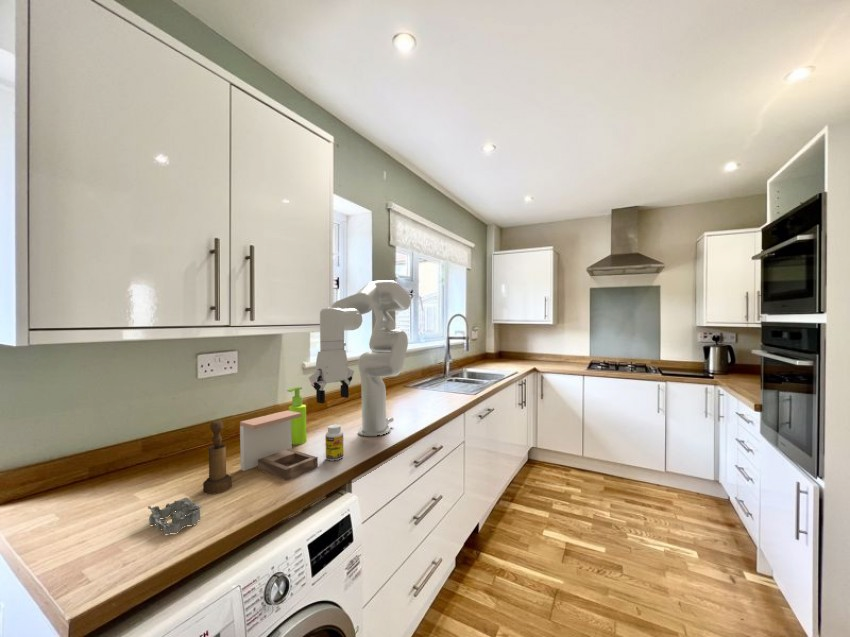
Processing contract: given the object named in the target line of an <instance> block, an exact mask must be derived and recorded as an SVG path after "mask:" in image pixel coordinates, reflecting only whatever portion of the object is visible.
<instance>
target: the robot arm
mask: <svg viewBox="0 0 850 637" xmlns="http://www.w3.org/2000/svg"><path fill="white" fill-rule="evenodd" d="M411 301H412V300H411V296H410V294H409V292H408V291H407V290H406V289H405V288H404V287H403V286H402V285H401V284H400V283H399V282H397V281H395V280H392V279H391V280H387V279H386V280H374V281H371V282H369V283H367V284H365V285H364V286H363V287H362V288H361V289H360V290H359V291H358V292H356V293H354V294H351V295H349V296H346V297H344V298H341V299H339V300H336V301H334V302H332V303H331V304H329V305H328V306H327V307H325V308H322V309H320V311H319V341H320V342H319V345H320V346H319V348H320V351H317V356H316V362H315V371H314V373H313V374H311V375H310V376H309V377H308V380H309V382H310V384H311V385H310V386H312V387H313V389H314V390H315V391H316V392H315V393H316V399H315V400H316V403H318V404H325V403H326V391H325V389H324V388H326V385H327V384H332V383H338V382H340V383H341V385H340V397H341V398H344V399H345V398H346V399H347V398H349V397H350V395H349V394H350V393H349V391H350V390H349V389H350V388H349V386H350V385H351V381H352V380H353V377H354V373H355V371H354V370H353V369H351V368H349V366H348V363H349V362H348V356H347V351H346V350H345V347H346V346H347V343H346V342H345V331H355V330H358V329H359V328H361V326H362V324H363V316H362V315H366V314H368V313H370V312H371V311H372V310H373V314H374V316H375V324H374V326H373V329H372V333H371V336H370V338H369V343H368V344H369V349H370V351H366V352H364V353H362V354H360V355H359V358H358V362H357V365H358V372H359V377H360V385H361V386H360V388H361V391H360V392H361V425H362V426H360V427H359V428H358V430H357V431H358V432H357V433H358V434H359V435H360V436H363V435H364V437H378V436H377V435H380V436H384V435H383V434H385V435H387V434H388V432H389V433H390V432H391V427H390V426H389V424H391V423H393V422H394V417H392V416H391V417H387V397H386V395H387V394H386V393H387V392H386V390H387V389H386V388H387V387H386V383H385V382H384V380H383V378H382V377H397V376H399V375H400V374H401V372H402V369H403V366H404V362H405V358H406V354H407V350H408V344H409V341H408V339H409V338H408V335H407V333H406V332H405V331H404V330H401V329H395V328H396V322H395V320H394V318H393V316H391V314H390V313H389V312H397V311H400V312H401V311H406V310H408V309H409V308H410V306H411ZM386 433H387V434H386Z"/></svg>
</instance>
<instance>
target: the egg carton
mask: <svg viewBox="0 0 850 637" xmlns="http://www.w3.org/2000/svg"><path fill="white" fill-rule="evenodd" d="M201 508H202V506H200V505H198V504H197V503H196V502H194V501H191V500H190V499H189V498H188V497H184V498H180V500H174V502H172V503H166V504H165V507H164V508H162V509H161V508H160V506H159V505H156V506H153V507H152V506H150V505H148V506H147V509H149V510H150V511H151V514H150V515H149V518H148V521H149V522H148V523H149V526H150V525H155V524H156V526H155V530H156V529H157V530H156V531H158V530H161V529H164V530H163V533H164V534H170V533H177V532H179V531H180V532H181V530H182V529H183V528H182V527H184V526H187V525H194V524H197V525H198V522H199V521H198V520H200V521H201V510H200V509H201ZM175 511H176V512H175ZM171 513H172V514H171ZM170 514H171V515H170ZM169 515H170V516H171V518H172V523H169V524H168V523H167V520H168V518H169V517H170V516H169ZM185 515H186V516H185ZM168 516H169V517H168ZM165 517H168V518H165ZM160 518H165V519H160ZM197 521H198V522H197ZM181 528H182V529H181ZM180 529H181V530H180ZM161 531H162V530H161ZM164 534H163V535H164Z"/></svg>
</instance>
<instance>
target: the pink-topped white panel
mask: <svg viewBox="0 0 850 637" xmlns="http://www.w3.org/2000/svg"><path fill="white" fill-rule="evenodd" d="M299 417H301V413H298V412H293V411H289V409H287V410H284V411H279V412H276V413H275V412H274V413H270V414H267V415H262V416H259V417H254V418H251V419H246V420H241V421H240V422H239V438H240V440H239V441H240V442H239V444H240V445H239V446H240V447H239V448H240V450H239V451H240V470H241V471H244V472H245V471H247V470H250V469H251V470H252V469H253V468H256V467H258V459H261V458H264V457H267V456H269V455H272V454H275V453H278V452H281V451H284V450H287V449H292V448H293V445H292V438H291V419H295V418H299ZM292 450H293V449H292Z"/></svg>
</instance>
